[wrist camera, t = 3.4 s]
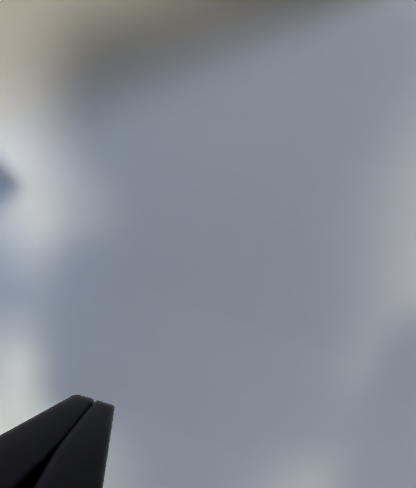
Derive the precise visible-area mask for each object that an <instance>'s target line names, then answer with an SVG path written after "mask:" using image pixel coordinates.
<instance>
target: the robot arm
mask: <svg viewBox="0 0 416 488" xmlns="http://www.w3.org/2000/svg"><path fill="white" fill-rule="evenodd" d="M113 415H114V406H113V405H111V404H108V403H104V402H101V401H95V402H94V400H93V399H91V398H88V397H85V396H81V395H73V396H71V397H69V398H67V399H66V400H64V401H62V402H60V403H58V404H56V405H55V406H53V407H51V408H49V409H47V410H46V411H44V412H42V413H40V414H38V415H36V416H35V417H33V418H31V419H29V420H27V421H26V422H24V423H22V424H20V425H18V426H17V427H15V428H13V429H11V430H9V431H7V432H6V433H4V434H2V435H0V488H103V481H104V475H105V468H106V461H107V455H108V448H109V441H110V435H111V428H112V421H113Z"/></svg>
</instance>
